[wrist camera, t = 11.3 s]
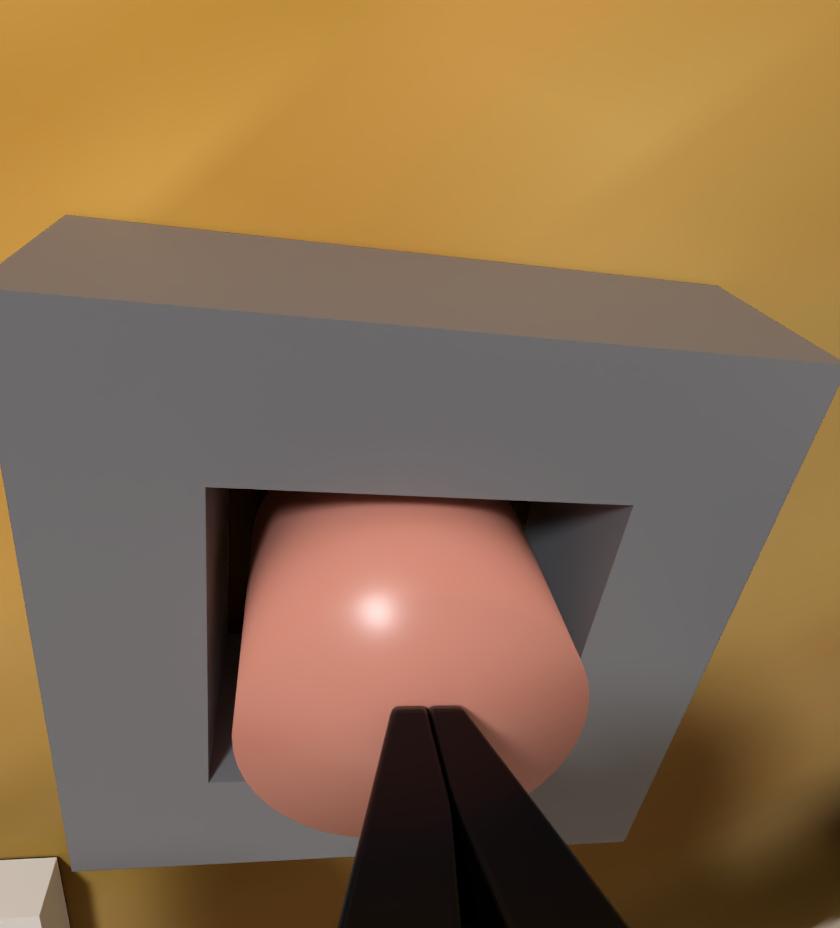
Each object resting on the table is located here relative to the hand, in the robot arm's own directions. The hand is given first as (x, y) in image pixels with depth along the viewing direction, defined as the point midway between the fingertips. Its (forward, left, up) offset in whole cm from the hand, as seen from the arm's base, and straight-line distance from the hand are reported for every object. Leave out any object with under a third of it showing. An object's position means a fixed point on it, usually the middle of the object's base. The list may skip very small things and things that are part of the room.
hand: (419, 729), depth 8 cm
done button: (0, 0, -4) cm, 4 cm away
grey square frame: (0, 0, -4) cm, 4 cm away
